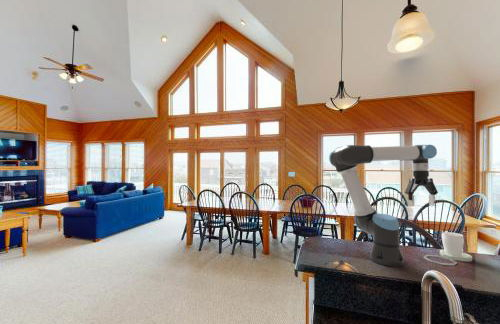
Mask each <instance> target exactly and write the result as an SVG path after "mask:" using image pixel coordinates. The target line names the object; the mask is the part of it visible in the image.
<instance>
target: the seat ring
mask: <svg viewBox="0 0 500 324" xmlns="http://www.w3.org/2000/svg"><path fill="white" fill-rule="evenodd" d="M428 257H431V258H440V259H444V260H447V261H450V262H452V263H446V262H444V263H443V262H439V261H435V260H432V259H430V258H428ZM423 259H425V260H426V261H428V262H431V263H434V264H437V265H441V266H450V267H451V266H456V265H458V262H457V260H453V259H450V258H446V257H443V256H441V255H436V254H426V255H424V256H423Z"/></svg>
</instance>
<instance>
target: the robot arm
mask: <svg viewBox="0 0 500 324" xmlns="http://www.w3.org/2000/svg"><path fill="white" fill-rule="evenodd" d="M437 153H438V152H437V148H436V146H435V145H433V144H415V145H405V146H404V145H399V146H398V145H396V146H371V145H366V144H365V145H357V144H348V145H344V146H338V147H336V148H334V149H333V150H331V152H330V153H329V156H328V160H329V163H330V165H331V166H332V167H335V170H336V172H337V173H338V174H340V175H341V177H342V180H343V182H344V184H345V186H346V190H347V192H348V194H349V197H350V199H351V201H352V204H353V206H354V209H355V211H354V216H355V217H354V224H355V227H356V228H358V229H359V230H361V232H363V233H367V234H369V235H371V236H372V239H373V240H372V243H373V244H372V247H371V249H370V252H369V258H370V260H371V261H373V262H374V263H376V264H380V265H381V266H382V265H383V266H388V267H402V266H403V267H404V265H405V258H404V256H403V254H402V251H401V249H400V224H399V223H400V222H399V220H398V218H397V217H396V216H393V215H392V214H387V213H378V212H377V210H376V208H375V207H373V206H372V205H371V203H370V200H369V198H368V196H367V194H366V191H365V188H364V185H363V183H362V181H361V179H360V176H359V174H358V171H357V167H358V165H362V164H371V163H372V162H382V161H383V162H385V161H400V162H401V161H405V162H406V161H412V176H413V178H412V177H411V178H409V179H408V180H409V181H408V183H407V186H406V189H405V191H404V193H405V194H406V195H408V197H407V198H408V201H409V206H411V207H415V195H414V194H415V192H416V190H417V189H418V188H419V187H422V186H423V187H424V188H425V190H426V191H427V192H428V193H429V194H428V206H432V207H433V206H435V199H436V198H435V197H436V195H437V194H439V192H438V190H437V188H436V185H435V183H434V179H433V178H429V177H430V173H429V172H430V171H429V160H430V159H433V158H435V157H436V156H437Z"/></svg>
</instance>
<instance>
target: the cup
mask: <svg viewBox="0 0 500 324" xmlns="http://www.w3.org/2000/svg"><path fill="white" fill-rule="evenodd" d="M441 241H442V245H443V250H444V251H445V254H448V255H451V256H455V257H462V252H463V250H464V243H465V239H464V235H463V234H461V233H458V232H453V231H442V232H441Z"/></svg>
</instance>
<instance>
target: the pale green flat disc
mask: <svg viewBox="0 0 500 324" xmlns="http://www.w3.org/2000/svg"><path fill="white" fill-rule="evenodd" d="M439 256H442V257H446V258H450V259H452V260H454V261H459V262H472V261H473V256H472V255H470V254H469V253H466V252H463V251H462V257H455V256H451V255H448V254H445V251H444V249H439Z"/></svg>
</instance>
